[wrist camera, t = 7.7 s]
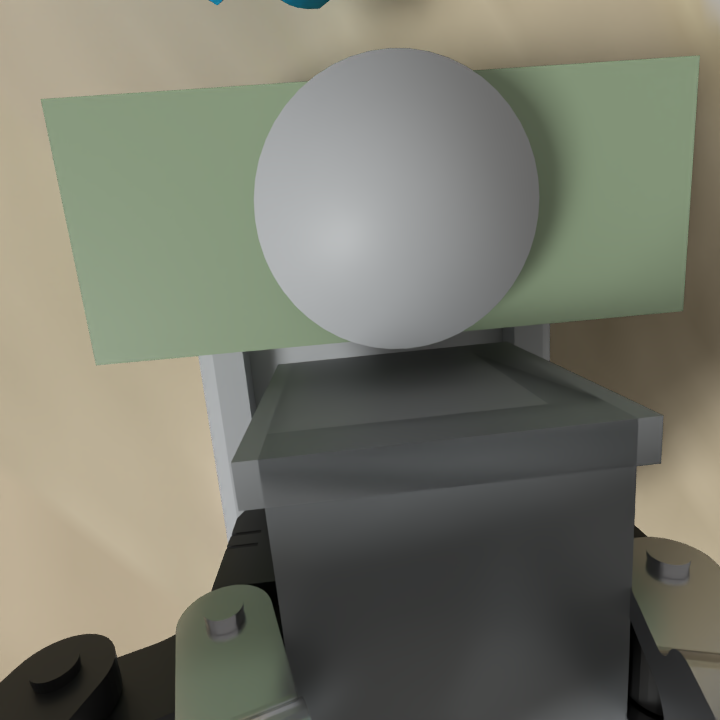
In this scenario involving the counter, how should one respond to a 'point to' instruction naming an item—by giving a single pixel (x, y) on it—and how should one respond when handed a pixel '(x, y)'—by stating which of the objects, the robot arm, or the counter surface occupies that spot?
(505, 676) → the grey lidded bin
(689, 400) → the counter surface
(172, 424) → the counter surface
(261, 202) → the drawer with ball knob
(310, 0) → the gear
